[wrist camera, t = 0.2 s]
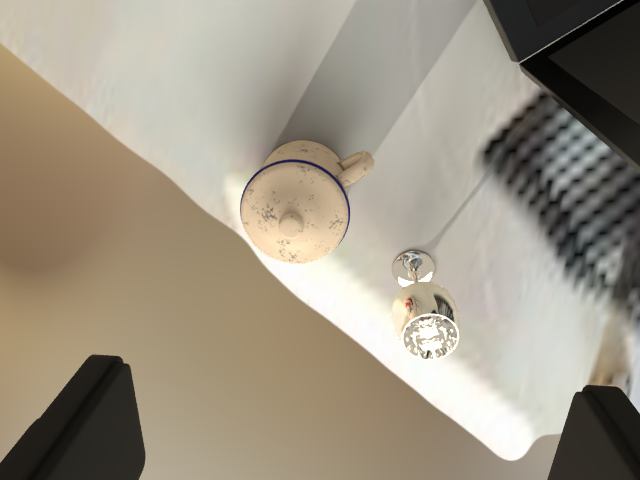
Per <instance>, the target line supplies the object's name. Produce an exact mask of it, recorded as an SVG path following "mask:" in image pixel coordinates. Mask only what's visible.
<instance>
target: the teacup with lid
mask: <svg viewBox="0 0 640 480" xmlns="http://www.w3.org/2000/svg"><path fill="white" fill-rule="evenodd" d="M373 165H374V160H373V158H372V156H371V155H370V153H368V152H358V153H355V154H353V155H350V156H348V157H346V158H345V159H343V160H340V159H339V158H338V157H337V155H336V154H335V153H334V152H333V151H331V150H330V149H329V148H327V147H326V146H324V145H322V144H319V143H316V142H313V141H306V140H300V141H293V142H289V143H286V144H284V145H282V146H280V147H279V148H277V149H276V150H275V151H273V152H272V153H271V154H270V156H269V157H268V158H267V160H266V161H265V163H264V164H263V166H262V167H261V169H260V170H259V171H258V172H257V173H256V174H255V175H254V176H253V177H252V178H251V179H250V181H249V182H248V183H247V185H246V187H245V189H244V191H243V194H242V198H241V204H240V214H241V220H242V224H243V227H244V229H245V232H246V234H247V235H248V237H249V239H250V240H251V241H252V243H253V244H254V245H255V246H256V247H257V248H258V249H259V250H260V251H262V252H263V253H264V254H266V255H268V256H269V257H271V258H273V259H276V260H278V261H282V262H286V263H294V264H300V263H308V262H312V261H315V260H318V259H320V258H322V257H324V256H326V255H327V254H329V253H330V252H331V251H333V250H334V249H335V248H336V247H337V246H338V245H339V243H340V242H341V241H342V239H343V238H344V236H345V234H346V231H347V229H348V225H349V220H350V206H349V201H348V186H349V185H350V184H352V183H354V182H356V181H357V180H359V179H360V178H362V177H363V176H364V175H366V174H367V173H368V172H369V171H370V170H371V169H372V167H373Z"/></svg>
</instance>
